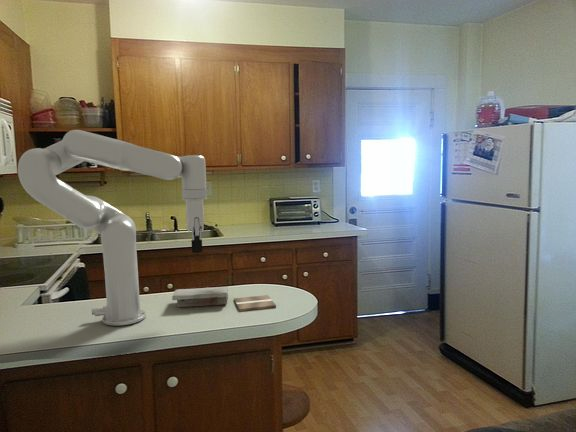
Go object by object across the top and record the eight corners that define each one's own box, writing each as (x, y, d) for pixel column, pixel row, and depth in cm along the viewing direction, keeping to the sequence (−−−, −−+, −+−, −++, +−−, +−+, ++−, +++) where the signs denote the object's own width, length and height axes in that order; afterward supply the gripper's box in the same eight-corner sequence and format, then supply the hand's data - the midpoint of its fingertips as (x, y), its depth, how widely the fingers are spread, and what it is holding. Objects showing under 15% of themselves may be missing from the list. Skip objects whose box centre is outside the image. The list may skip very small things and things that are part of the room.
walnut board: (239, 311, 141) (239, 308, 141) (233, 300, 153) (233, 298, 153) (276, 307, 144) (275, 305, 144) (267, 297, 156) (267, 294, 156)
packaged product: (228, 306, 146) (228, 299, 155) (227, 292, 145) (227, 286, 155) (172, 310, 143) (175, 302, 153) (171, 295, 143) (175, 288, 153)
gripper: (181, 193, 146) (184, 248, 148) (183, 196, 132) (186, 257, 134) (204, 193, 148) (206, 247, 150) (208, 195, 133) (211, 255, 136)
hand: (197, 252), depth 142 cm, fingers closed
